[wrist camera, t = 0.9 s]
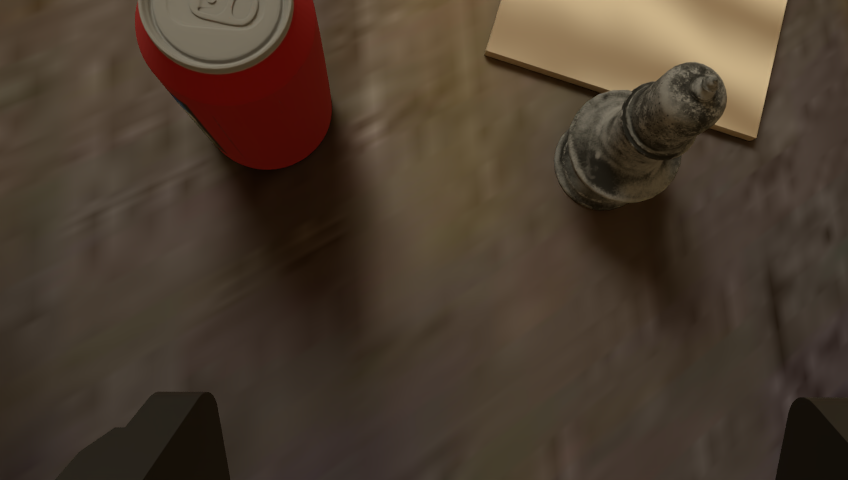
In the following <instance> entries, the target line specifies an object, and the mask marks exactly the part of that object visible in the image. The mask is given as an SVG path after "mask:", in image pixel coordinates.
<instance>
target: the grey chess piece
mask: <svg viewBox="0 0 848 480" xmlns="http://www.w3.org/2000/svg"><path fill="white" fill-rule="evenodd" d="M726 103H727V93H726V88H725V85H724V83H723V80H722V79H721V78H720V76H719V75H718V74H717V73H716V72H715V71H714V70H713V69H712V68H710V67H708V66H706V65H704V64H701V63H697V62H686V63H683V64H679V65H677V66H674V67H673V68H671V69H670V70H668V71H667V72H666V73H665V74H664V75H662V76H661V77H660V78H659V79H658V80H657V81H651V82H648V83H644V84H641V85H640V86H638V87H637V88H635V89H634V90H632V91H630V90H612V91H608V92H605V93H601V94H599V95H597V96H595V97H594V98H592V99H590V100H589V101H587V102H586V103H585V104H584V105H583V107H582V108H581V109H580V110H579V111H578V112H577V113H576V115H575V117H574V119H573V121H572V124H571V126H570V128H569V129H568V130H567V131H566V132H565V134H564V135H563V136H562V137H561V139H560V141H559V143H558V145H557V147H556V151H555V157H554V165H555V173H556V176H557V178H558V181H559V184H560V185H561V187H562V188H563V190H564V191H565V193H566V194H567V195H568V196H570V197H571V198H572V199H573V200H574V201H575V202H577V203H579V204H581V205H583V206H585V207H586V208H591V209H595V210H612V209H615V208H618V207H621V206H623V205H625V204H626V203H638V202H641V201H644V200H648V199H651V198H653V197H654V196H656V195H658V194H659V193H661V192H662V191H664V190H665V189H666V188H667V186H668V185H669V184H670V183H671V182H672V181H673V179H674V178H675V175H676V173H677V171H678V169H679V167H680V162H681V155H682V154H684V153H685V152H686V151H688V149H689V148H690V147H691V146H692V145H693V143H694V141H695V139H696V136H697V135H699V134H700V133H702V132H704V131H705V130H707V129H709V128H710V127H712V126H713V125H715V123H716V122H717V121H718V120H719V119H720V117H721V116H722V115H723V113H724V110H725V108H726Z"/></svg>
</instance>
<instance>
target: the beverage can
mask: <svg viewBox="0 0 848 480" xmlns="http://www.w3.org/2000/svg"><path fill="white" fill-rule="evenodd" d="M135 30H136V37H137V41H138V45H139V48H140V51H141V53H142V56H143V58H144V60H145V61H146V63H147V65H148V66H149V68H150V69H151V71H152V72H153V73H154V74H155V75H156V77H157V78H158V79H159V80H160V81H161V83H162V84H163V85H164V86H165V88H166V89H167V90H168V91H169V92H170V94H171V95H172V96H173V97H174V98H175V100H176V101H177V102H178V103H179V104H180V106H181V107H182V108H183V109H184V110H185V111H186V113H187V114H188V115H189V116H190V117H191V118H192V120H193V121H194V122H195V123H196V124H197V125H198V126H199V127H200V129H201V130H202V131H203V132H204V133H205V134H206V135H207V136H208V138H209V139H210V140H211V141H212V142H213V143H214V144H215V145H216V146H217V147H218V148H219V149H220V150H221V151H222V152H223V153H224V154H225V155H226V156H227V157H229V158H230V159H232V160H233V161H235V162H237V163H239V164H241V165H244V166H247V167H251V168H255V169H263V170H271V169H279V168H284V167H287V166H290V165H293V164H295V163H297V162H299V161H301V160H303V159H304V158H306V157H307V156H308V155H310V154H311V153H312V152H313V151H314V150H315V149H316V148H317V147H318V146H319V144H320V143H321V142H322V140H323V138H324V137H325V135H326V133H327V130H328V128H329V125H330V121H331V115H332V102H331V95H330V88H329V82H328V76H327V70H326V64H325V58H324V53H323V47H322V42H321V37H320V32H319V27H318V22H317V17H316V12H315V7H314V3H313V0H138V2H137V7H136V14H135Z"/></svg>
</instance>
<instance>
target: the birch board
mask: <svg viewBox="0 0 848 480" xmlns="http://www.w3.org/2000/svg"><path fill="white" fill-rule="evenodd" d="M786 3H787V0H501V2H500V5H499V9H498V12H497V15H496V18H495V22H494V25H493V28H492V31H491V35H490V38H489V41H488V44H487V48H486V51H485V54H484V55H486V56H489V57H492V58H495V59H498V60H501V61H504V62H507V63H510V64H514V65H517V66H520V67H523V68H526V69H529V70H532V71H535V72H538V73H541V74H544V75H547V76H551V77H554V78H557V79H560V80H563V81H566V82H569V83H572V84H575V85H578V86H581V87H584V88H588V89H591V90H594V91H597V92H600V93H605V92H608V91H612V90H630V91H632V90H634V89H635V88H637V87H638V86H640V85H641V84H644V83H648V82H651V81H657V80H658V79H659V78H660V77H661V76H662V75H664V74H665V73H666V72H667V71H668V70H670V69H671V68H673V67H674V66H677V65H679V64H683V63H686V62H697V63H701V64H704V65H706V66H708V67H710V68H712V69H713V70H714V71H715V72H716V73H717V74H718V75H719V76H720V78H721V79H722V80H723V83H724V85H725V88H726V93H727V103H726V108H725V110H724V113H723V115H722V116H721V117H720V119H719V120H718V121H717V122H716V123H715V125H713V126H712V127H710V128H711V129H714V130H717V131H720V132H723V133H726V134H729V135H732V136H735V137H738V138H742V139H745V140H748V141H751V140H753V139H755V138H756V137H757V133H758V128H759V124H760V119H761V115H762V110H763V106H764V101H765V97H766V93H767V88H768V84H769V79H770V75H771V70H772V66H773V61H774V57H775V52H776V48H777V43H778V39H779V35H780V30H781V26H782V21H783V17H784V12H785V8H786Z"/></svg>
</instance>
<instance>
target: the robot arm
mask: <svg viewBox="0 0 848 480" xmlns="http://www.w3.org/2000/svg"><path fill="white" fill-rule="evenodd" d="M55 480H230V475H229V469H228V464H227V458H226V452H225V447H224V441H223V435H222V430H221V424H220V418H219V413H218V407H217V403H216V400H215V398H214V396H213V395H212V394H211V393H209V392H156V393H154V394H153V395H151V396H150V397H149V398H148V400H147V401H146V402H145V403H144V405H143V406H142V407H141V408H140V410H139V411H138V412H137V413H136V415H135V416H134V417H133V418H132V419H131V421H130V422H129V423H128V424H127V426H126V427H125V428H114V429H112V430H111V431H109V432H108V433H106V434H105V435H103V436H102V437H100V438H99V439H98V440H96V441H95V442H93V443H92V444H90V445H89V446H87V447H86V448H84V449H83V450H82V451H80V452H79V453H78V454H77V455H76V456H75V458H74V459H73V460H72V461H71V462H70V463H69V464H68V466H67V467H66V468H65V469H64V470H63V471H62V473H61V474H60V475H59V476H58V477H57V478H56V479H55ZM775 480H848V398H804V397H803V398H798V399H796V400H795V401H794V402H793V403H792V405H791V407H790V410H789V414H788V418H787V423H786V428H785V434H784V439H783V444H782V449H781V454H780V459H779V464H778V469H777V474H776V479H775Z"/></svg>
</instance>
